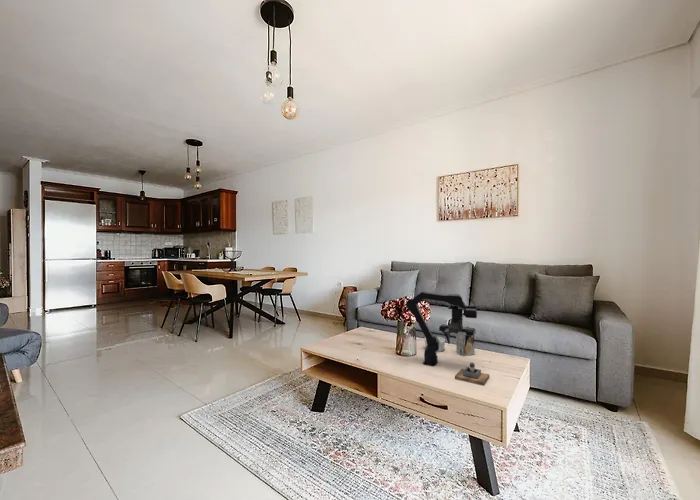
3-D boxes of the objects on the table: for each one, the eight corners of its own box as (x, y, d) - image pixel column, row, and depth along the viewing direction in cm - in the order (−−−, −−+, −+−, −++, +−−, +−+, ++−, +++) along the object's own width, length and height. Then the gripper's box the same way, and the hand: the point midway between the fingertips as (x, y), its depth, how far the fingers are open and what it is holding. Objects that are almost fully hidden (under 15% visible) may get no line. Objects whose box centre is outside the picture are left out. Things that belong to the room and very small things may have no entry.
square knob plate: (454, 379, 161) (454, 363, 161) (461, 371, 171) (461, 356, 171) (484, 385, 153) (484, 369, 153) (489, 377, 163) (489, 361, 163)
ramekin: (441, 354, 199) (441, 343, 199) (421, 350, 206) (421, 340, 206) (447, 348, 210) (447, 338, 210) (428, 345, 217) (428, 335, 217)
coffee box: (467, 351, 203) (467, 326, 203) (474, 354, 198) (474, 328, 198) (456, 353, 200) (455, 328, 200) (463, 356, 194) (463, 330, 194)
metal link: (463, 375, 161) (463, 371, 161) (466, 371, 167) (466, 366, 167) (477, 379, 157) (477, 374, 157) (480, 374, 163) (480, 369, 163)
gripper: (435, 317, 176) (435, 345, 177) (470, 322, 166) (470, 351, 166) (442, 314, 186) (442, 341, 186) (475, 318, 175) (476, 346, 175)
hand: (457, 345), depth 178 cm, fingers open, 9 cm apart
